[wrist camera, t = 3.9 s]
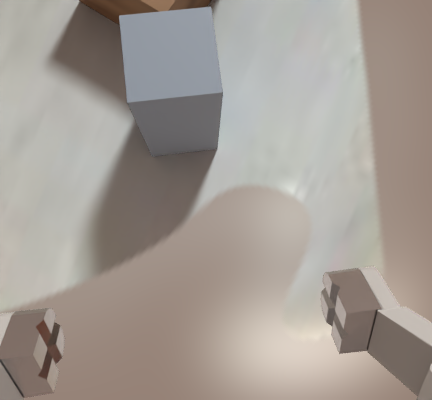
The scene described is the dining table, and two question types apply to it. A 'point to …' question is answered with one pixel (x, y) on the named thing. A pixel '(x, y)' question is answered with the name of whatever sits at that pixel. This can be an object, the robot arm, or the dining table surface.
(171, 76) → the slate block
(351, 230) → the dining table surface
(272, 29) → the dining table surface
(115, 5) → the walnut block
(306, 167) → the dining table surface
